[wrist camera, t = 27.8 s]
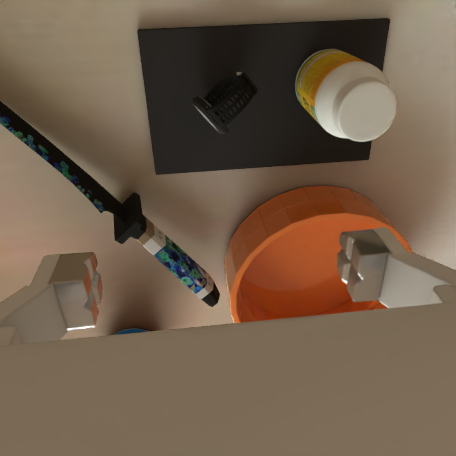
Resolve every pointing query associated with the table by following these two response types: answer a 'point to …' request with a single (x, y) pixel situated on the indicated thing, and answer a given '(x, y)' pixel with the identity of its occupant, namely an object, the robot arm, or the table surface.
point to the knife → (117, 210)
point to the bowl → (297, 255)
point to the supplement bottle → (346, 95)
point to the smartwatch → (225, 101)
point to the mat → (259, 105)
